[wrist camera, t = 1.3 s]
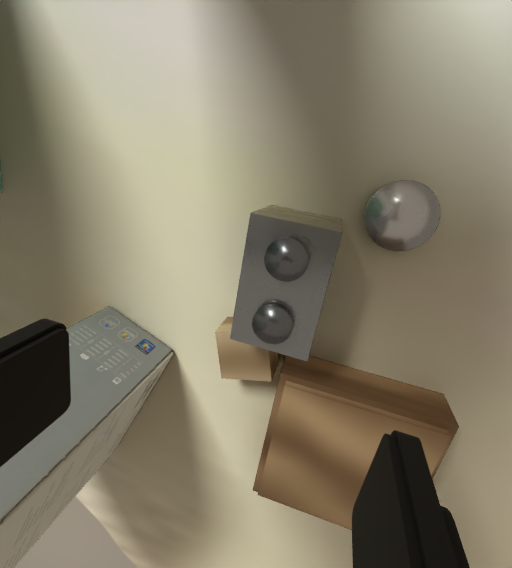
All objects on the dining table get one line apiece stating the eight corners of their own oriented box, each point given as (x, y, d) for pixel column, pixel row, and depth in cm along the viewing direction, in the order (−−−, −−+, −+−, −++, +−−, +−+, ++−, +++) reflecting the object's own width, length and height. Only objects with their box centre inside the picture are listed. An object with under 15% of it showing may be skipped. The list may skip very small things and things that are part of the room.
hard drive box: (109, 301, 29) (-281, 506, 11) (177, 349, 29) (-106, 641, 11) (62, 407, 35) (-241, 655, 17) (118, 448, 35) (-128, 744, 17)
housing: (272, 204, 23) (247, 213, 17) (341, 219, 22) (342, 234, 16) (253, 305, 26) (226, 343, 20) (314, 321, 25) (306, 366, 19)
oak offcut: (228, 316, 27) (215, 331, 24) (275, 316, 26) (267, 333, 23) (233, 358, 28) (221, 378, 25) (278, 360, 27) (271, 381, 24)
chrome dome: (374, 174, 21) (376, 174, 20) (445, 187, 20) (451, 187, 19) (355, 239, 23) (356, 242, 22) (421, 253, 22) (425, 257, 21)
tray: (288, 349, 26) (279, 377, 23) (443, 394, 24) (462, 433, 20) (261, 458, 30) (250, 496, 27) (392, 504, 28) (400, 553, 25)
